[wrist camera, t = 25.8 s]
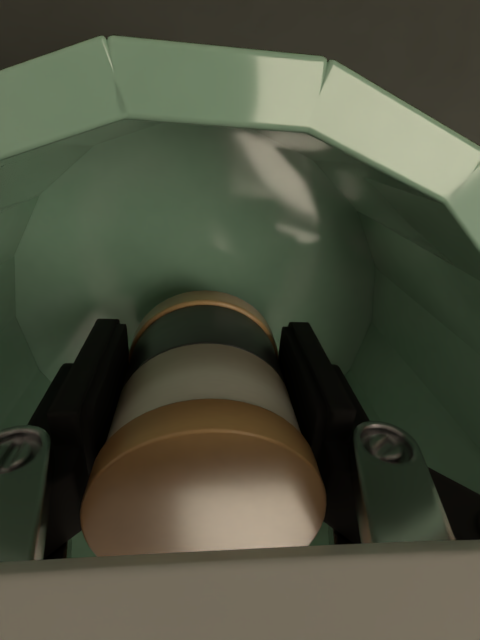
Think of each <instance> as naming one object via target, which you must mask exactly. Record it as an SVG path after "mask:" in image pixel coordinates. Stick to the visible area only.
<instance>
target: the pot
mask: <svg viewBox="0 0 480 640" xmlns="http://www.w3.org/2000/svg"><path fill="white" fill-rule="evenodd" d="M204 290H208V291H218V292H222V293H227V294H230V295H233V296H236V297H238V298H240V299H242V300H244V301H245V302H247V303H248V304H250V305H251V306H253V307H254V308H255V309H256V310H257V311H258V312H259V313H260V314H261V315H262V316H263V317H264V319H265V320H266V322H267V323H268V325H269V327H270V329H271V331H272V334H273V337H274V340H275V343H276V346H277V350H278V352H279V345H280V337H281V330H282V327H283V326H284V327H288V324H289V322H309V324H310V325H311V327H312V329H313V331H314V333H315V335H316V336H317V338H318V340H319V342H320V344H321V346H322V347H323V349H324V351H325V353H326V355H327V357H328V359H329V360H330V362H331V364H335V365H338V366H339V367H340V369H341V371H342V372H343V374H344V376H345V378H346V379H347V381H348V383H349V385H350V386H351V388H352V390H353V392H354V393H355V395H356V397H357V399H358V401H359V402H360V404H361V406H362V408H363V409H364V411H365V413H366V415H367V416H368V418H369V420H370V421H382V422H386V423H390V424H393V425H395V426H397V427H400V428H401V429H403V430H404V431H406V432H407V433H409V434H410V435H411V436H412V437H413V438H414V439H415V440H416V442H417V443H418V445H419V447H420V449H421V451H422V454H423V456H424V459H425V462H426V464H427V467H429V468H431V469H433V470H435V471H437V472H439V473H440V474H442V475H444V476H446V477H448V478H450V479H452V480H454V481H455V482H457V483H459V484H461V485H463V486H465V487H467V488H469V489H471V490H472V491H474V492H476V493H478V494H480V146H479V145H478V144H476V143H474V142H473V141H471V140H469V139H468V138H466V137H464V136H463V135H461V134H459V133H457V132H456V131H454V130H452V129H451V128H449V127H447V126H446V125H444V124H442V123H441V122H439V121H437V120H436V119H434V118H432V117H431V116H429V115H427V114H425V113H424V112H422V111H420V110H419V109H417V108H415V107H414V106H412V105H410V104H409V103H407V102H405V101H404V100H402V99H400V98H399V97H397V96H395V95H393V94H392V93H390V92H388V91H387V90H385V89H383V88H382V87H380V86H378V85H377V84H375V83H373V82H372V81H370V80H368V79H367V78H365V77H363V76H361V75H360V74H358V73H356V72H355V71H353V70H351V69H350V68H348V67H346V66H345V65H343V64H341V63H340V62H338V61H336V60H333V59H329V60H327V59H326V58H325V57H323V56H322V55H312V54H302V53H292V52H282V51H272V50H262V49H252V48H242V47H232V46H222V45H212V44H202V43H192V42H182V41H172V40H162V39H152V38H142V37H132V36H122V35H111V36H109V37H108V38H106V37H105V36H101V35H99V36H96V37H93V38H90V39H87V40H85V41H82V42H79V43H76V44H73V45H70V46H67V47H64V48H61V49H59V50H56V51H53V52H50V53H47V54H44V55H41V56H38V57H36V58H33V59H30V60H27V61H24V62H21V63H18V64H15V65H12V66H10V67H7V68H4V69H1V70H0V430H2V429H5V428H9V427H13V426H18V425H27V424H28V422H29V421H30V419H31V417H32V415H33V414H34V412H35V410H36V408H37V407H38V405H39V403H40V402H41V400H42V398H43V396H44V395H45V393H46V391H47V389H48V388H49V386H50V384H51V383H52V381H53V379H54V377H55V376H56V374H57V372H58V371H59V369H60V367H61V366H62V365H63V364H64V363H74V361H75V359H76V358H77V356H78V354H79V352H80V350H81V348H82V346H83V344H84V343H85V341H86V339H87V337H88V335H89V333H90V331H91V329H92V328H93V326H94V324H95V322H96V320H97V319H119V321H120V324H126V326H127V335H128V348H129V351H130V347H131V344H132V341H133V338H134V335H135V332H136V330H137V328H138V326H139V324H140V322H141V321H142V320H143V318H144V317H145V316H146V315H147V314H148V313H149V312H150V311H151V310H152V309H153V308H154V307H156V306H157V305H158V304H160V303H161V302H163V301H165V300H166V299H168V298H171V297H173V296H176V295H179V294H182V293H186V292H192V291H204ZM328 526H329V525H327V524H326V523H325V522H323V523H322V526H321V528H320V530H319V532H318V534H317V535H316V537H315V538H314V540H313V541H312V542H311V543H310V545H309V546H320V545H329V538H328ZM84 557H97V556H96V555H95V554H94V553H93V551H92V550H91V549H90V547H89V546H88V544H87V542H86V540H85V538H84V535H83V532H82V530H81V531H80V532H79V533H77V534H76V535H75V536H74V537H72V552H71V558H84Z"/></svg>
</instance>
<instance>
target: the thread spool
mask: <svg viewBox="0 0 480 640" xmlns="http://www.w3.org/2000/svg"><path fill="white" fill-rule="evenodd" d="M326 505H327V503H326V491H325V487H324V483H323V480H322V478H321V475H320V472H319V469H318V466H317V463H316V460H315V457H314V454H313V452H312V450H311V447H310V445H309V444H308V442H307V441H306V439H305V438H304V436H303V435H302V434H301V431H300V428H299V425H298V422H297V418H296V415H295V412H294V409H293V406H292V403H291V400H290V397H289V394H288V391H287V388H286V385H285V381H284V378H283V375H282V372H281V369H280V366H279V363H278V350H277V346H276V343H275V340H274V337H273V334H272V331H271V329H270V327H269V325H268V323H267V322H266V320H265V319H264V317H263V316H262V315H261V314H260V313H259V312H258V311H257V310H256V309H255V308H254V307H253V306H251V305H250V304H248V303H247V302H245V301H244V300H242V299H240V298H238V297H236V296H233V295H230V294H227V293H222V292H218V291H208V290H204V291H192V292H186V293H182V294H179V295H176V296H173V297H171V298H168V299H166V300H165V301H163V302H161V303H160V304H158V305H157V306H156V307H154V308H153V309H152V310H151V311H150V312H149V313H148V314H147V315H146V316H145V317H144V318H143V320H142V321H141V322H140V324H139V326H138V328H137V330H136V332H135V335H134V338H133V341H132V344H131V347H130V351H129V366H128V370H127V373H126V376H125V380H124V383H123V386H122V390H121V393H120V396H119V400H118V403H117V406H116V410H115V413H114V416H113V420H112V423H111V426H110V430H109V433H108V436H107V440H106V443H105V444H104V446H103V447H102V448H101V450H100V451H99V453H98V455H97V457H96V459H95V461H94V464H93V467H92V470H91V473H90V477H89V480H88V483H87V486H86V489H85V492H84V495H83V499H82V502H81V508H80V523H81V529H82V532H83V535H84V538H85V540H86V542H87V544H88V546H89V547H90V549H91V550H92V551H93V553H94V554H95V555H96V556H97V557H102V556H120V555H138V554H158V553H177V552H197V551H216V550H236V549H257V548H277V547H298V546H309V545H310V543H311V542H312V541H313V540H314V538H315V537H316V535H317V534H318V532H319V530H320V528H321V526H322V523H323V520H324V518H325V512H326Z"/></svg>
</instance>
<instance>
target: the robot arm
mask: <svg viewBox="0 0 480 640" xmlns="http://www.w3.org/2000/svg"><path fill="white" fill-rule="evenodd" d="M278 363H279V366H280V369H281V372H282V375H283V378H284V381H285V385H286V388H287V391H288V394H289V397H290V400H291V403H292V406H293V409H294V412H295V415H296V418H297V422H298V425H299V428H300V431H301V434H302V435H303V436H304V438H305V439H306V441H307V442H308V444H309V445H310V447H311V450H312V452H313V454H314V457H315V460H316V463H317V466H318V469H319V472H320V475H321V478H322V480H323V483H324V487H325V491H326V503H327V505H326V512H325V518H324V520H323V522H325V523H326V524H327V525H329V526H328V538H329V545H320V546H298V547H277V548H257V549H236V550H216V551H197V552H177V553H158V554H138V555H120V556H102V557H84V558H71V552H72V537H74V536H75V535H76V534H77V533H79V532H80V531H81V530H82V529H81V523H80V508H81V502H82V499H83V495H84V492H85V489H86V486H87V483H88V480H89V477H90V473H91V470H92V467H93V464H94V461H95V459H96V457H97V455H98V453H99V451H100V450H101V448H102V447H103V446H104V444H105V443H106V440H107V436H108V433H109V430H110V426H111V423H112V420H113V416H114V413H115V410H116V406H117V403H118V400H119V396H120V393H121V390H122V386H123V383H124V380H125V376H126V373H127V370H128V366H129V348H128V335H127V326H126V324H120V321H119V319H97V320H96V322H95V324H94V326H93V328H92V329H91V331H90V333H89V335H88V337H87V339H86V341H85V343H84V344H83V346H82V348H81V350H80V352H79V354H78V356H77V358H76V359H75V361H74V363H64V364H63V365H62V366H61V367H60V369H59V371H58V372H57V374H56V376H55V377H54V379H53V381H52V383H51V384H50V386H49V388H48V389H47V391H46V393H45V395H44V396H43V398H42V400H41V402H40V403H39V405H38V407H37V408H36V410H35V412H34V414H33V415H32V417H31V419H30V421H29V422H28V424H27V425H18V426H13V427H9V428H5V429H2V430H0V640H480V494H478V493H476V492H474V491H472V490H471V489H469V488H467V487H465V486H463V485H461V484H459V483H457V482H455V481H454V480H452V479H450V478H448V477H446V476H444V475H442V474H440V473H439V472H437V471H435V470H433V469H431V468H429V467H427V464H426V462H425V459H424V456H423V454H422V451H421V449H420V447H419V445H418V443H417V442H416V440H415V439H414V438H413V437H412V436H411V435H410V434H409V433H407V432H406V431H404V430H403V429H401V428H400V427H397V426H395V425H393V424H390V423H386V422H382V421H370V420H369V418H368V416H367V415H366V413H365V411H364V409H363V408H362V406H361V404H360V402H359V401H358V399H357V397H356V395H355V393H354V392H353V390H352V388H351V386H350V385H349V383H348V381H347V379H346V378H345V376H344V374H343V372H342V371H341V369H340V367H339V366H338V365H335V364H331V362H330V360H329V359H328V357H327V355H326V353H325V351H324V349H323V347H322V346H321V344H320V342H319V340H318V338H317V336H316V335H315V333H314V331H313V329H312V327H311V325H310V324H309V322H289V324H288V327H284V326H283V327H282V330H281V337H280V345H279V352H278Z"/></svg>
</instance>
